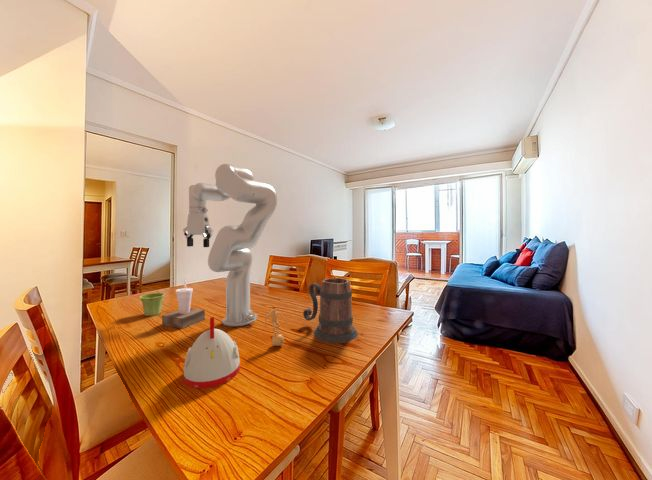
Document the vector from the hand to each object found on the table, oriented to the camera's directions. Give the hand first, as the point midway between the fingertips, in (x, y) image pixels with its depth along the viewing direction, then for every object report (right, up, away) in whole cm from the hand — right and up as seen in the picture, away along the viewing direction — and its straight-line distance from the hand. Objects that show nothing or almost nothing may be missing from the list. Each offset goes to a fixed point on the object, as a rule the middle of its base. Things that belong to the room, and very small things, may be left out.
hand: (198, 246), depth 122 cm
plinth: (+3, -31, -17) cm, 35 cm away
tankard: (+63, -32, -25) cm, 75 cm away
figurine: (+45, -32, -37) cm, 67 cm away
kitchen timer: (+31, -33, -54) cm, 70 cm away
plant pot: (-17, -31, -7) cm, 36 cm away
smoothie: (+3, -27, -17) cm, 32 cm away
